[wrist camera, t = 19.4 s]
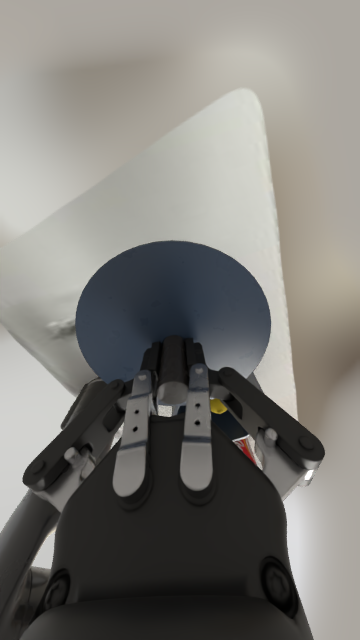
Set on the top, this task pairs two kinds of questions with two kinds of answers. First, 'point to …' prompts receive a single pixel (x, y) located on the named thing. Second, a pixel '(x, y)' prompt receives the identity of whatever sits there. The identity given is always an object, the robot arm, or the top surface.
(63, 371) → the top surface
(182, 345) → the lid
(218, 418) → the pot
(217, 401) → the lemon
